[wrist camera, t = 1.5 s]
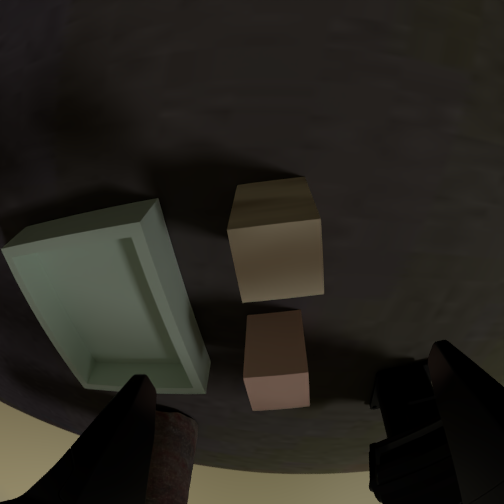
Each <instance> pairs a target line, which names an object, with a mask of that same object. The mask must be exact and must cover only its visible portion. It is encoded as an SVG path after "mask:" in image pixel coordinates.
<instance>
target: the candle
mask: <svg viewBox="0 0 504 504" xmlns="http://www.w3.org/2000/svg"><path fill="white" fill-rule="evenodd" d="M197 436H198V424H197V422H196V421H195V420H193V419H192V418H190V417H186V416H185V415H183V414H181V413H179V412H170V413H169V412H161V411H157V410H156V415H155V435H154V443H153V449H152V456H151V462H150V469H149V477H148V484H147V492H146V500H145V504H187V502H188V494H189V487H190V481H191V474H192V469H193V463H194V456H195V449H196V442H197Z"/></svg>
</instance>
